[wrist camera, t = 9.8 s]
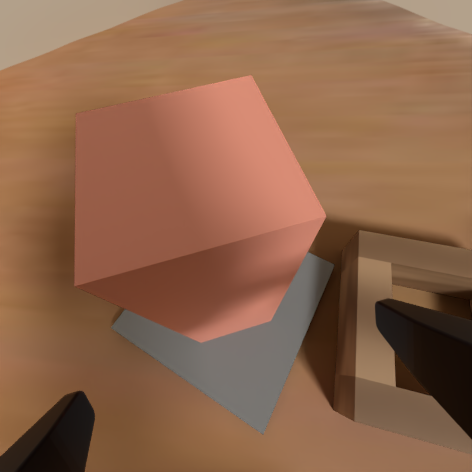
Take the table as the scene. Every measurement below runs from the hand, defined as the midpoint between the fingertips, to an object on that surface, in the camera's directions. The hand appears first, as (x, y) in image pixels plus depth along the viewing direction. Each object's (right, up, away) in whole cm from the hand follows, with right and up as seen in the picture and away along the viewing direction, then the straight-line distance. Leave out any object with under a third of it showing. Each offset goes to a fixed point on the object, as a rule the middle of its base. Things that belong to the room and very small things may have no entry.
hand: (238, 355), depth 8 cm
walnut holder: (+13, -3, +10) cm, 16 cm away
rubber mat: (-1, -1, +12) cm, 12 cm away
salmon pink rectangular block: (-1, -1, +11) cm, 11 cm away
